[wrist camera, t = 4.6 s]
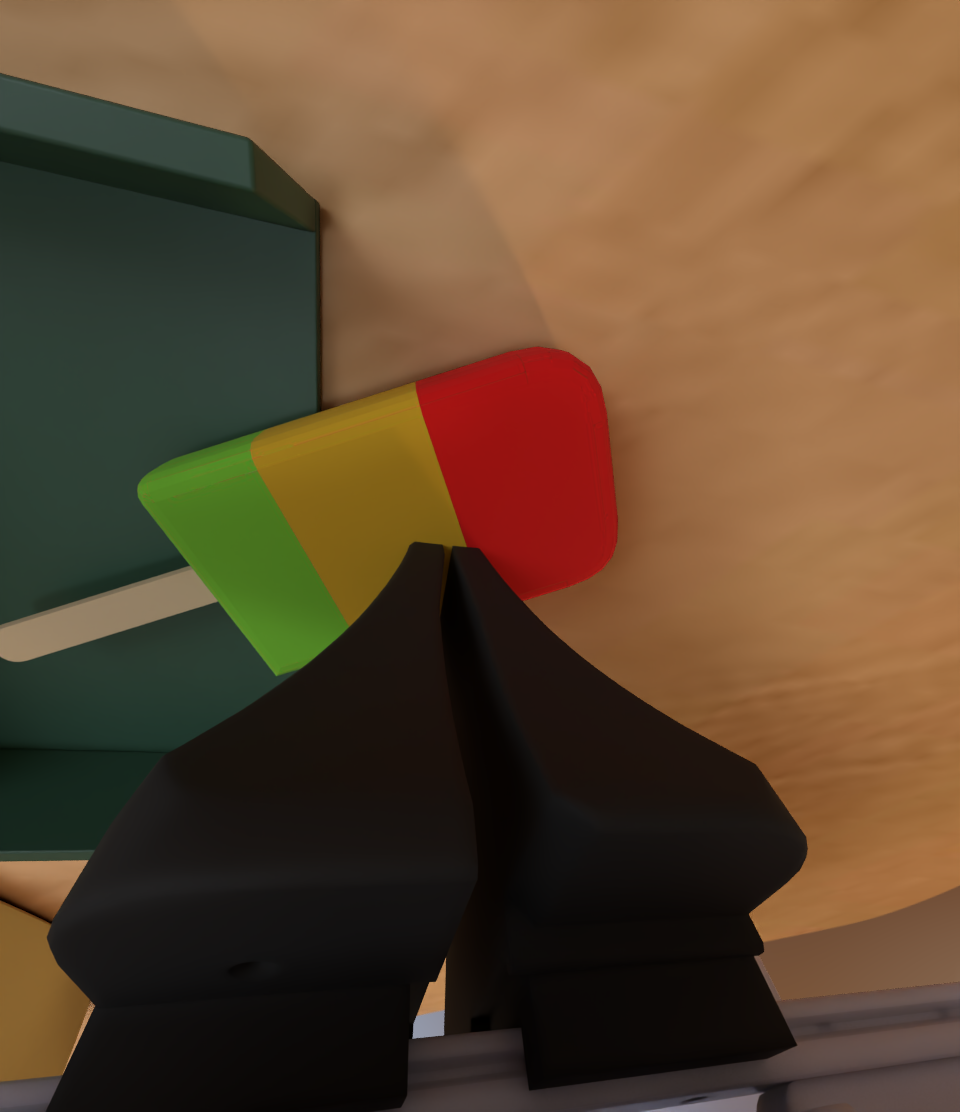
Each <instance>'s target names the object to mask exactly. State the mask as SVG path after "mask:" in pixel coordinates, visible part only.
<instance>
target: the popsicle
mask: <svg viewBox="0 0 960 1112" xmlns="http://www.w3.org/2000/svg"><path fill="white" fill-rule="evenodd" d="M137 492H138V498H139V500H140V501H141V503H142V504H143V506H144V507H145V508H146V510H147V511H148V512H149V513H150V515H151V516H152V517H153V519H154V520H155V521H156V522H157V524H158V525H159V526H160V528H161V529H162V530H163V531H164V533H165V534H166V535H167V537H168V538H169V539H170V540H171V542H172V543H173V544H174V546H175V547H176V548H177V549H178V551H179V552H180V553H181V555H182V556H183V557H184V558H185V560H186V561H187V562H188V563H189V565H190V566H187V567H184V568H181V569H178V570H175V571H171V572H168V573H165V574H162V575H159V576H155V577H152V578H149V579H146V580H143V581H139V582H136V583H133V584H130V585H127V586H123V587H120V588H117V589H114V590H111V591H107V592H104V593H101V594H98V595H95V596H91V597H88V598H85V599H82V600H79V601H75V602H72V603H69V604H66V605H63V606H59V607H56V608H53V609H50V610H47V611H43V612H40V613H37V614H34V615H31V616H27V617H24V618H21V619H18V620H15V621H11V622H8V623H5V624H2V625H0V657H2V658H4V659H6V660H8V661H13V662H22V661H27V660H30V659H34V658H37V657H40V656H43V655H47V654H50V653H53V652H56V651H59V650H63V649H66V648H69V647H72V646H76V645H79V644H82V643H85V642H88V641H92V640H95V639H98V638H101V637H105V636H108V635H111V634H114V633H117V632H121V631H124V630H127V629H130V628H134V627H137V626H140V625H143V624H146V623H150V622H153V621H156V620H159V619H163V618H166V617H169V616H172V615H176V614H179V613H182V612H185V611H188V610H192V609H195V608H198V607H201V606H205V605H208V604H211V603H214V602H217V601H218V602H219V603H220V605H221V606H222V607H223V608H224V610H225V611H226V612H227V613H228V615H229V616H230V617H231V619H232V620H233V621H234V622H235V624H236V625H237V626H238V628H239V629H240V630H241V631H242V633H243V634H244V635H245V637H246V638H247V639H248V640H249V642H250V643H251V644H252V646H253V647H254V648H255V649H256V651H257V652H258V653H259V655H260V656H261V657H262V658H263V660H264V661H265V662H266V664H267V665H268V666H269V667H270V669H271V670H272V671H273V672H274V674H275V675H276V676H279V675H282V674H285V673H288V672H292V671H295V670H298V669H301V668H302V667H303V666H305V665H306V664H307V663H309V662H310V661H311V660H312V659H314V658H315V657H316V656H317V655H318V654H320V653H321V652H322V651H323V650H324V649H325V648H326V647H328V646H329V645H330V644H331V643H332V642H333V641H335V640H336V639H337V638H338V637H339V636H340V635H341V634H342V633H343V632H344V631H345V630H346V629H347V628H349V627H350V626H351V625H352V624H353V623H354V622H355V621H356V620H357V619H358V618H359V616H360V615H361V614H362V613H363V612H364V611H365V610H366V609H367V608H368V607H369V605H370V604H371V603H372V602H373V601H374V599H375V598H376V597H377V596H378V594H379V593H380V592H381V591H382V590H383V588H384V587H385V586H386V584H387V583H388V582H389V580H390V579H391V577H392V576H393V574H394V573H395V571H396V570H397V568H398V567H399V565H400V564H401V562H402V560H403V558H404V556H405V555H406V552H407V550H408V548H409V545H410V544H412V543H413V542H415V541H416V542H423V543H432V544H442V545H443V548H444V553H445V557H444V568H443V578H442V588H441V599H440V614H441V608H442V602H443V597H444V591H445V585H446V580H447V574H448V568H449V562H450V557H451V551H452V546H461V547H472V548H480V550H481V551H482V552H483V554H484V555H485V556H486V558H487V559H488V560H489V562H490V563H491V564H492V565H493V567H494V568H495V569H496V571H497V572H498V573H499V574H500V576H501V577H502V578H503V579H504V581H505V582H506V583H507V584H508V585H509V587H510V588H511V589H512V590H513V591H514V592H515V594H516V595H517V596H518V597H519V598H520V599H521V600H522V601H524V600H528V599H531V598H534V597H537V596H541V595H544V594H547V593H551V592H554V591H557V590H560V589H564V588H567V587H570V586H572V585H575V584H577V583H580V582H582V581H585V580H587V579H589V578H590V577H592V576H593V575H595V574H596V573H598V572H599V571H601V570H602V569H603V568H604V567H605V565H606V564H607V563H608V562H609V560H610V559H611V558H612V556H613V553H614V550H615V547H616V544H617V530H618V515H617V506H616V496H615V486H614V477H613V467H612V458H611V448H610V438H609V429H608V419H607V411H606V407H605V402H604V398H603V393H602V389H601V386H600V384H599V382H598V381H597V379H596V377H595V375H594V374H593V372H592V370H591V368H590V367H589V366H588V365H586V364H585V363H583V362H582V361H580V360H579V359H577V358H576V357H574V356H573V355H571V354H570V353H569V352H565V351H562V350H557V349H550V348H544V347H532V348H527V349H522V350H516V351H511V352H507V353H504V354H501V355H498V356H494V357H491V358H488V359H485V360H482V361H479V362H476V363H472V364H469V365H466V366H463V367H460V368H457V369H454V370H450V371H447V372H444V373H441V374H438V375H435V376H432V377H428V378H425V379H422V380H419V381H416V382H413V383H410V384H406V385H403V386H400V387H397V388H394V389H391V390H388V391H384V392H381V393H378V394H375V395H372V396H369V397H366V398H362V399H359V400H356V401H353V402H350V403H347V404H344V405H340V406H337V407H334V408H331V409H328V410H325V411H322V412H318V413H315V414H312V415H309V416H306V417H303V418H300V419H296V420H293V421H290V422H287V423H284V424H281V425H278V426H274V427H271V428H268V429H265V430H262V431H259V432H256V433H252V434H249V435H246V436H243V437H240V438H237V439H234V440H230V441H227V442H224V443H221V444H218V445H215V446H212V447H208V448H205V449H202V450H199V451H196V452H193V453H190V454H187V455H183V456H180V457H177V458H175V459H172V460H170V461H168V462H166V463H164V464H162V465H160V466H159V467H157V468H156V469H154V470H152V471H151V472H149V473H148V474H147V475H146V476H144V477H143V478H142V479H141V481H140V482H139V484H138V489H137Z"/></svg>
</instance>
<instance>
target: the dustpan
mask: <svg viewBox="0 0 960 1112" xmlns="http://www.w3.org/2000/svg"><path fill="white" fill-rule="evenodd" d="M318 412H321V408H320V208H319V203H318V202H317V201H316V200H315V199H313V198H312V197H311V196H310V195H309V194H308V193H307V192H306V191H305V190H304V189H303V188H302V187H301V186H300V185H299V184H297V183H296V182H295V181H294V180H293V179H292V178H291V177H290V176H289V175H288V174H287V173H286V172H285V171H284V170H283V169H282V168H281V167H280V166H278V165H277V164H276V163H275V162H274V161H273V160H272V159H271V158H270V157H269V156H268V155H267V154H266V153H265V152H264V151H263V150H262V149H260V148H259V147H258V146H257V145H256V144H255V143H254V142H253V141H252V140H251V139H249V138H248V137H244V136H240V135H236V134H232V133H229V132H225V131H221V130H217V129H213V128H209V127H206V126H202V125H198V124H194V123H190V122H186V121H183V120H179V119H175V118H171V117H167V116H163V115H159V114H156V113H152V112H148V111H144V110H140V109H136V108H133V107H129V106H125V105H121V104H117V103H113V102H110V101H106V100H102V99H98V98H94V97H90V96H87V95H83V94H79V93H75V92H71V91H67V90H63V89H60V88H56V87H52V86H48V85H44V84H40V83H37V82H33V81H29V80H25V79H21V78H17V77H14V76H10V75H6V74H2V73H0V625H2V624H5V623H8V622H11V621H15V620H18V619H21V618H24V617H27V616H31V615H34V614H37V613H40V612H43V611H47V610H50V609H53V608H56V607H59V606H63V605H66V604H69V603H72V602H75V601H79V600H82V599H85V598H88V597H91V596H95V595H98V594H101V593H104V592H107V591H111V590H114V589H117V588H120V587H123V586H127V585H130V584H133V583H136V582H139V581H143V580H146V579H149V578H152V577H155V576H159V575H162V574H165V573H168V572H171V571H175V570H178V569H181V568H184V567H187V566H190V565H189V563H188V562H187V561H186V560H185V558H184V557H183V556H182V555H181V553H180V552H179V551H178V549H177V548H176V547H175V546H174V544H173V543H172V542H171V540H170V539H169V538H168V537H167V535H166V534H165V533H164V531H163V530H162V529H161V528H160V526H159V525H158V524H157V522H156V521H155V520H154V519H153V517H152V516H151V515H150V513H149V512H148V511H147V510H146V508H145V507H144V506H143V504H142V503H141V501H140V500H139V498H138V492H137V489H138V484H139V482H140V481H141V479H142V478H143V477H144V476H146V475H147V474H148V473H149V472H151V471H152V470H154V469H156V468H157V467H159V466H160V465H162V464H164V463H166V462H168V461H170V460H172V459H175V458H177V457H180V456H183V455H187V454H190V453H193V452H196V451H199V450H202V449H205V448H208V447H212V446H215V445H218V444H221V443H224V442H227V441H230V440H234V439H237V438H240V437H243V436H246V435H249V434H252V433H256V432H259V431H262V430H265V429H268V428H271V427H274V426H278V425H281V424H284V423H287V422H290V421H293V420H296V419H300V418H303V417H306V416H309V415H312V414H315V413H318ZM298 670H300V669H298ZM298 670H295V671H292V672H288V673H285V674H282V675H279V676H276V675H275V674H274V672H273V671H272V670H271V669H270V667H269V666H268V665H267V664H266V662H265V661H264V660H263V658H262V657H261V656H260V655H259V653H258V652H257V651H256V649H255V648H254V647H253V646H252V644H251V643H250V642H249V640H248V639H247V638H246V637H245V635H244V634H243V633H242V631H241V630H240V629H239V628H238V626H237V625H236V624H235V622H234V621H233V620H232V619H231V617H230V616H229V615H228V613H227V612H226V611H225V610H224V608H223V607H222V606H221V605H220V603H219V602H218V601H217V602H214V603H211V604H208V605H205V606H201V607H198V608H195V609H192V610H188V611H185V612H182V613H179V614H176V615H172V616H169V617H166V618H163V619H159V620H156V621H153V622H150V623H146V624H143V625H140V626H137V627H134V628H130V629H127V630H124V631H121V632H117V633H114V634H111V635H108V636H105V637H101V638H98V639H95V640H92V641H88V642H85V643H82V644H79V645H76V646H72V647H69V648H66V649H63V650H59V651H56V652H53V653H50V654H47V655H43V656H40V657H37V658H34V659H30V660H27V661H22V662H13V661H8V660H6V659H4V658H2V657H0V861H62V860H89V859H90V858H91V856H92V854H93V853H94V851H95V849H96V848H97V846H98V844H99V843H100V841H101V839H102V838H103V836H104V835H105V833H106V831H107V830H108V828H109V826H110V825H111V823H112V822H113V820H114V819H115V818H116V816H117V815H118V814H119V812H120V811H121V810H122V808H123V807H124V806H125V804H126V803H127V802H128V800H129V799H130V798H131V796H132V795H133V794H134V792H135V791H136V790H137V788H138V787H139V786H140V784H141V783H142V782H143V780H144V779H145V778H146V776H147V775H148V774H149V773H150V771H151V770H152V769H153V767H154V766H155V765H156V763H157V762H158V761H159V760H160V758H161V757H162V756H163V755H165V754H167V753H169V752H171V751H172V750H174V749H176V748H178V747H180V746H182V745H183V744H185V743H187V742H188V741H190V740H192V739H194V738H195V737H197V736H199V735H200V734H202V733H204V732H205V731H207V730H209V729H210V728H212V727H214V726H215V725H217V724H219V723H220V722H222V721H224V720H226V719H227V718H229V717H231V716H232V715H234V714H236V713H237V712H239V711H241V710H242V709H244V708H245V707H247V706H248V705H250V704H251V703H253V702H254V701H256V700H257V699H259V698H260V697H262V696H263V695H264V694H266V693H267V692H269V691H270V690H271V689H273V688H274V687H276V686H277V685H279V684H280V683H281V682H283V681H284V680H286V679H287V678H288V677H290V676H291V675H293V674H294V673H296V672H297V671H298Z"/></svg>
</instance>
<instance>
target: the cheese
mask: <svg viewBox="0 0 960 1112" xmlns="http://www.w3.org/2000/svg"><path fill="white" fill-rule="evenodd" d="M50 927H51V924H50V923H48V922H46V921H44V920H42V919H40V918H38V917H36V916H34V915H32V914H29V913H27V912H25V911H23V910H21V909H18V908H16V907H14V906H12V905H9V904H7V903H5V902H2V901H0V1082H3V1081H12V1080H22V1079H31V1078H41V1077H51V1076H60V1075H62V1074H63V1072H64V1069H65V1067H66V1064H67V1062H68V1059H69V1056H70V1054H71V1051H72V1049H73V1046H74V1044H75V1041H76V1038H77V1036H78V1033H79V1030H80V1028H81V1025H82V1022H83V1020H84V1017H85V1014H86V1012H87V1009H88V1006H89V1003H90V999H89V998H88V997H87V996H86V995H85V994H84V993H83V992H82V991H81V990H80V988H79V987H78V986H77V985H76V984H75V983H74V982H73V981H72V980H71V979H70V978H69V977H68V975H67V974H66V973H65V972H64V971H63V970H62V969H61V968H60V967H59V966H58V964H57V962H56V960H55V958H54V956H53V954H52V952H51V950H50V947H49V944H48V941H47V935H48V932H49V929H50Z"/></svg>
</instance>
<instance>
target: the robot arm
mask: <svg viewBox="0 0 960 1112" xmlns="http://www.w3.org/2000/svg"><path fill="white" fill-rule="evenodd" d="M444 557H445V553H444V548H443V545H442V544H432V543H423V542H416V541H415V542H413V543H412V544H410V545H409V548H408V550H407V552H406V555H405V556H404V558H403V560H402V562H401V564H400V565H399V567H398V568H397V570H396V571H395V573H394V574H393V576H392V577H391V579H390V580H389V582H388V583H387V584H386V586H385V587H384V588H383V590H382V591H381V592H380V593H379V594H378V596H377V597H376V598H375V599H374V601H373V602H372V603H371V604H370V605H369V607H368V608H367V609H366V610H365V611H364V612H363V613H362V614H361V615H360V616H359V618H358V619H357V620H356V621H355V622H354V623H353V624H352V625H351V626H350V627H349V628H347V629H346V630H345V631H344V632H343V633H342V634H341V635H340V636H339V637H338V638H337V639H336V640H335V641H333V642H332V643H331V644H330V645H329V646H328V647H326V648H325V649H324V650H323V651H322V652H321V653H320V654H318V655H317V656H316V657H315V658H314V659H312V660H311V661H310V662H309V663H307V664H306V665H305V666H303V667H302V668H301V669H300V670H298V671H297V672H296V673H294V674H293V675H291V676H290V677H288V678H287V679H286V680H284V681H283V682H281V683H280V684H279V685H277V686H276V687H274V688H273V689H271V690H270V691H269V692H267V693H266V694H264V695H263V696H262V697H260V698H259V699H257V700H256V701H254V702H253V703H251V704H250V705H248V706H247V707H245V708H244V709H242V710H241V711H239V712H237V713H236V714H234V715H232V716H231V717H229V718H227V719H226V720H224V721H222V722H220V723H219V724H217V725H215V726H214V727H212V728H210V729H209V730H207V731H205V732H204V733H202V734H200V735H199V736H197V737H195V738H194V739H192V740H190V741H188V742H187V743H185V744H183V745H182V746H180V747H178V748H176V749H174V750H172V751H171V752H169V753H167V754H165V755H163V756H162V757H161V758H160V760H159V761H158V762H157V763H156V765H155V766H154V767H153V769H152V770H151V771H150V773H149V774H148V775H147V776H146V778H145V779H144V780H143V782H142V783H141V784H140V786H139V787H138V788H137V790H136V791H135V792H134V794H133V795H132V796H131V798H130V799H129V800H128V802H127V803H126V804H125V806H124V807H123V808H122V810H121V811H120V812H119V814H118V815H117V816H116V818H115V819H114V820H113V822H112V823H111V825H110V826H109V828H108V830H107V831H106V833H105V835H104V836H103V838H102V839H101V841H100V843H99V844H98V846H97V848H96V849H95V851H94V853H93V854H92V856H91V858H90V859H89V861H88V863H87V864H86V866H85V868H84V869H83V871H82V872H81V874H80V876H79V877H78V879H77V881H76V882H75V884H74V886H73V887H72V889H71V891H70V892H69V894H68V896H67V897H66V899H65V901H64V902H63V904H62V906H61V907H60V909H59V911H58V912H57V914H56V916H55V917H54V919H53V921H52V924H51V927H50V929H49V932H48V935H47V941H48V944H49V947H50V950H51V952H52V954H53V956H54V958H55V960H56V962H57V964H58V966H59V967H60V968H61V969H62V970H63V971H64V972H65V973H66V974H67V975H68V977H69V978H70V979H71V980H72V981H73V982H74V983H75V984H76V985H77V986H78V987H79V988H80V990H81V991H82V992H83V993H84V994H85V995H86V996H87V997H88V998H89V999H90V1000H91V1001H92V1003H93V1004H94V1005H95V1008H94V1010H93V1012H92V1014H91V1016H90V1018H89V1020H88V1022H87V1025H86V1027H85V1029H84V1031H83V1033H82V1035H81V1037H80V1039H79V1042H78V1044H77V1046H76V1048H75V1050H74V1052H73V1054H72V1056H71V1059H70V1061H69V1063H68V1065H67V1067H66V1069H65V1071H64V1073H63V1075H60V1076H51V1077H41V1078H31V1079H22V1080H12V1081H3V1082H0V1112H960V982H954V983H944V984H934V985H925V986H915V987H906V988H896V989H886V990H877V991H867V992H858V993H848V994H838V995H829V996H820V997H810V998H800V999H791V1000H781V998H780V996H779V994H778V992H777V990H776V988H775V986H774V984H773V982H772V980H771V978H770V976H769V974H768V972H767V970H766V968H765V966H764V964H763V962H762V960H761V958H760V956H759V955H760V954H762V953H763V952H764V946H763V941H762V939H761V937H760V936H759V934H758V932H757V930H756V928H755V926H754V924H753V922H752V920H751V918H750V916H749V913H750V912H751V911H753V910H754V909H755V908H756V907H757V906H759V905H760V904H761V903H762V902H764V901H765V900H766V899H767V898H769V897H770V896H771V895H772V894H774V893H775V892H776V891H777V890H779V889H780V888H781V887H782V886H784V885H785V884H786V883H787V882H788V881H789V880H790V879H791V878H792V877H793V876H794V875H795V874H796V873H797V872H798V871H799V870H800V869H801V867H802V865H803V863H804V861H805V859H806V855H807V850H808V848H807V840H806V836H805V834H804V833H803V832H802V830H801V829H800V827H799V826H798V824H797V823H796V821H795V820H794V819H793V817H792V816H791V814H790V813H789V811H788V810H787V808H786V807H785V806H784V804H783V803H782V801H781V800H780V798H779V797H778V795H777V794H776V793H775V791H774V790H773V788H772V787H771V785H770V784H769V783H768V781H767V780H766V778H765V777H764V775H763V774H762V772H761V771H760V770H759V768H758V767H757V766H756V764H754V763H752V762H750V761H748V760H746V759H744V758H743V757H741V756H739V755H737V754H735V753H733V752H731V751H730V750H728V749H726V748H724V747H722V746H720V745H718V744H717V743H715V742H713V741H711V740H709V739H707V738H705V737H704V736H702V735H700V734H698V733H696V732H694V731H692V730H691V729H689V728H687V727H685V726H683V725H682V724H680V723H678V722H677V721H675V720H673V719H672V718H670V717H668V716H667V715H665V714H664V713H662V712H660V711H659V710H657V709H655V708H654V707H652V706H651V705H649V704H647V703H646V702H644V701H643V700H641V699H640V698H638V697H637V696H635V695H634V694H632V693H631V692H629V691H628V690H626V689H625V688H623V687H622V686H620V685H619V684H617V683H616V682H615V681H613V680H612V679H610V678H609V677H608V676H606V675H605V674H604V673H602V672H601V671H600V670H598V669H597V668H595V667H594V666H593V665H591V664H590V663H589V662H588V661H586V660H585V659H584V658H582V657H581V656H580V655H579V654H577V653H576V652H575V651H574V650H573V649H572V648H570V647H569V646H568V645H567V644H566V643H565V642H564V641H562V640H561V639H560V638H559V637H558V636H557V635H555V634H554V633H553V632H552V631H551V630H550V629H549V628H548V627H547V626H546V625H545V624H544V623H543V622H542V621H541V620H540V619H539V618H538V617H537V616H536V615H535V614H534V613H533V612H532V611H531V610H530V609H529V608H528V607H527V606H526V605H525V604H524V603H523V601H522V600H521V599H520V598H519V597H518V596H517V595H516V594H515V592H514V591H513V590H512V589H511V588H510V587H509V585H508V584H507V583H506V582H505V581H504V579H503V578H502V577H501V576H500V574H499V573H498V572H497V571H496V569H495V568H494V567H493V565H492V564H491V563H490V562H489V560H488V559H487V558H486V556H485V555H484V554H483V552H482V551H481V550H480V548H472V547H461V546H452V551H451V557H450V562H449V568H448V574H447V580H446V585H445V591H444V597H443V602H442V608H441V614H440V599H441V588H442V578H443V568H444ZM445 958H446V986H445V1018H444V1020H445V1021H444V1036H435V1037H426V1038H416V1039H412V1037H413V1023H414V1020H415V1018H416V1016H417V1013H418V1010H419V1008H420V1005H421V1002H422V1000H423V997H424V995H425V992H426V989H427V987H428V984H429V982H436V980H437V978H438V975H439V973H440V970H441V968H442V965H443V963H444V960H445Z"/></svg>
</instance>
